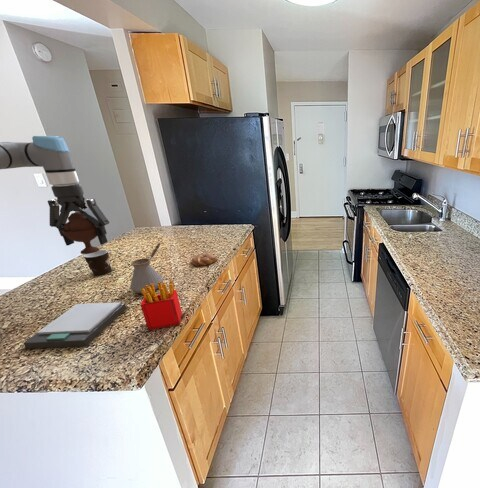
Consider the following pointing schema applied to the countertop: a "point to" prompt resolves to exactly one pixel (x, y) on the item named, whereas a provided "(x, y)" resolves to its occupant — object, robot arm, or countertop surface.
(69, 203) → the robot arm
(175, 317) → the french fries container
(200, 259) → the pretzel
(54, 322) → the scale
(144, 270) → the coffee pot
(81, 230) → the ice cream bowl
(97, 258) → the coffee mug
